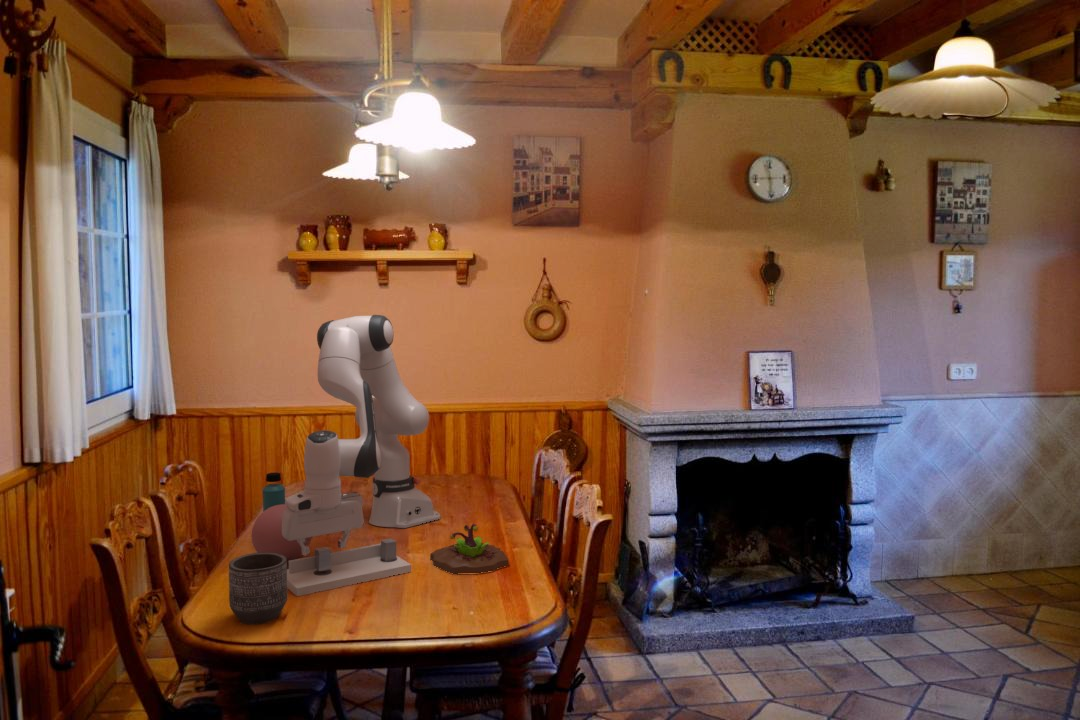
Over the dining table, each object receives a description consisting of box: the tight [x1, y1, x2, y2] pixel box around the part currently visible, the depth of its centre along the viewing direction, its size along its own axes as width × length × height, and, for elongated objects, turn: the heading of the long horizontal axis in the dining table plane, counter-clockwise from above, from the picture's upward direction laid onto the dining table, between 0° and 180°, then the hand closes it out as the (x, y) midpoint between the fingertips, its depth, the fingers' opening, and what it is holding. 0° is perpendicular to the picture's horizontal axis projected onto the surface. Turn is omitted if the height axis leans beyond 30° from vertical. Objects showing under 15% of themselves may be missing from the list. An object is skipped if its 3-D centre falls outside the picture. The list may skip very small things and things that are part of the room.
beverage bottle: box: [262, 471, 286, 512], centre depth 232 cm, size 6×7×20 cm
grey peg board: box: [287, 538, 412, 597], centre depth 205 cm, size 30×14×7 cm, turn 126°
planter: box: [228, 552, 288, 625], centre depth 178 cm, size 12×12×13 cm
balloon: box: [251, 504, 313, 563], centre depth 215 cm, size 15×20×15 cm
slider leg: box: [314, 546, 332, 571], centre depth 202 cm, size 3×4×5 cm, turn 36°
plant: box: [429, 523, 510, 575], centre depth 217 cm, size 20×20×11 cm
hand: (324, 550), depth 202 cm, fingers open, 8 cm apart
